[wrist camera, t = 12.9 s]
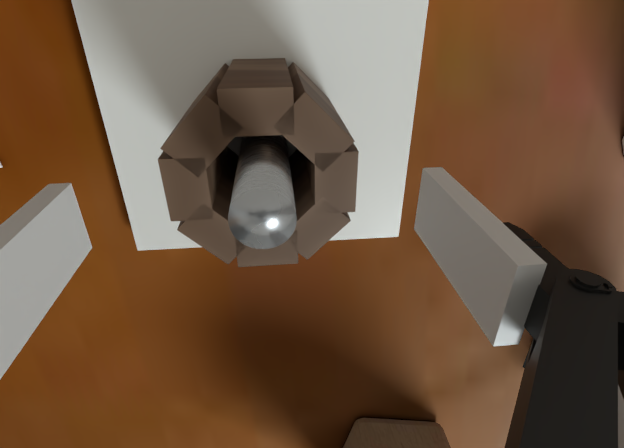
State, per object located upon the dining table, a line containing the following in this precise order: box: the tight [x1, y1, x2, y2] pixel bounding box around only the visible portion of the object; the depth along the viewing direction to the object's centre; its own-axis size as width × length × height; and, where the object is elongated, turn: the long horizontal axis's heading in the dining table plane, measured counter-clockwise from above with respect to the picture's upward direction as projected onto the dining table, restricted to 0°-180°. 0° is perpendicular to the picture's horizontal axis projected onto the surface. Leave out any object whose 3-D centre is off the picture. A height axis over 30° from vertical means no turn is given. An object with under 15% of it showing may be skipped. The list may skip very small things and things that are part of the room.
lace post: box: [228, 135, 297, 249], centre depth 19 cm, size 2×2×11 cm
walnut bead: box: [158, 58, 359, 267], centre depth 20 cm, size 8×8×8 cm
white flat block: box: [71, 0, 429, 250], centre depth 24 cm, size 18×16×2 cm
